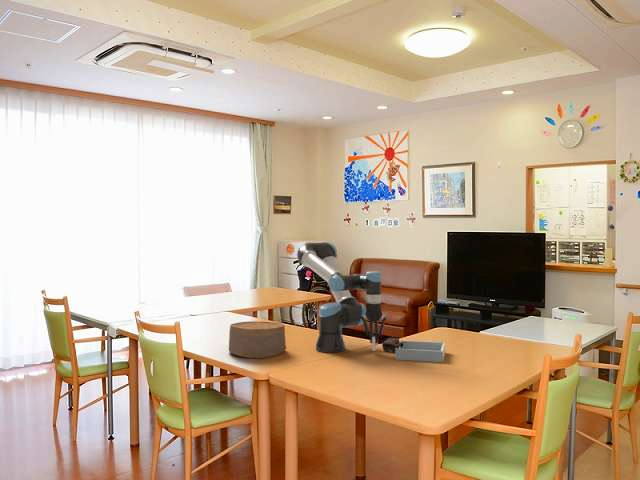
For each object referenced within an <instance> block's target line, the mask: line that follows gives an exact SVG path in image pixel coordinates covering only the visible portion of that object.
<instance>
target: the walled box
mask: <svg viewBox="0 0 640 480" xmlns="http://www.w3.org/2000/svg"><path fill="white" fill-rule="evenodd" d="M399 341H400V342H401V343H403V347H399V349H398V348H396V349H395V352H394V353H395V354H394V355H395V356H394V357H395V360H397V361H398V360H400V361H401V360H402V361H413V362H414V361H417V362H418V361H419V362H429V363H431V362H432V363H444V359H445V354H446V343H445V342H438V341H421V340H420V341H419V340H417V341H416V340H403V339H402V340H399Z"/></svg>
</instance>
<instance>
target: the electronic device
mask: <svg viewBox="0 0 640 480" xmlns="http://www.w3.org/2000/svg"><path fill="white" fill-rule="evenodd" d="M400 341H401V340H400V338H396V337H388V338H387V339H385V340H384V341H383V342H382V343H381V346H382V349H383V351H385V352H390V353H393V352H394V353H395V349H396V348H398V349H400V347H403V343H401V342H400Z"/></svg>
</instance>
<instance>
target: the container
mask: <svg viewBox="0 0 640 480" xmlns="http://www.w3.org/2000/svg"><path fill="white" fill-rule="evenodd" d="M285 327H286V326H285V324H284V323H281V322H280V323H279V322H271V321H270V322H269V321H239V322H234V323H231V324H230V326H229V335H228V336H229V337H228V352H229V353H231V354H233V355H236V356H238V357H239V356H240V357H242V358H248V359H265V358H271V357H277V356H278V355H281V354H282V353H283V352H285V351H286V349H287V346H286V345H287V344H286V330H285V329H286V328H285Z"/></svg>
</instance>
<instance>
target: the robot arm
mask: <svg viewBox="0 0 640 480" xmlns="http://www.w3.org/2000/svg"><path fill="white" fill-rule="evenodd" d="M337 253H338V251H337V247H336V246H335V244H333V243H332V242H326V241H323V242H305V243H303V244H302V245H300V246H299V248H298V250H297V253H296V256H297V260H298V262H299V263H300V264H301V265H302V266H304V267H305V268H309V269H311V270H312V272H314V273H316V275H318V276H319V277H321V278H322V279H323V280H324V281H326V282H327V284H328V287H329V290H330V291H331V293H332V295H333V298H334V299H335V302H328V303H324V304H322V305H320V306H319V309H318V338H317V340H316V343H315V351H316V352H320V353H341V352H344V351H346V342H345V340H344V338H343V333H342V331H343V328H351V327H357V326H361V325H363V326H364V330H365V334H366V336H367V337H369V344H371V350H372V351H376V350H377V344H378V343H379V337H381V336H382V335H383V331H384V326H385V322H386V320H387V319H388V317H387V316H385V315H384V314H383V312H382V303H381V302H382V274H381V272H380V271H373V270H371V271H366V273H365V274H361V273H354V274H346V275H343V274H342V273H341V272H340V270H339V268H338V265H337V264H336V263H337V260H338V254H337ZM355 290H363V291H365V296H366V297H365V300H366V301H365V302H366V304H364V303H361V302H358V300H357V298H356V296H352V294H351V293H350V291H355ZM365 305H366V306H365ZM380 319H381V322H380V323H381V324H380V327H379V321H380ZM367 320H368V321H369V325H368V321H367Z"/></svg>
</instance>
